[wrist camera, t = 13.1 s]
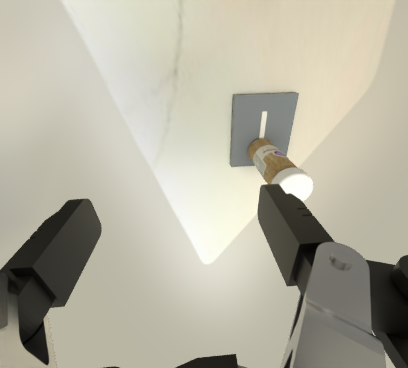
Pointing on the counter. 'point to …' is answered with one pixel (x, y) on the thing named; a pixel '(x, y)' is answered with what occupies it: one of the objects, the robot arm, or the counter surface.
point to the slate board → (260, 123)
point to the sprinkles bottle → (279, 169)
